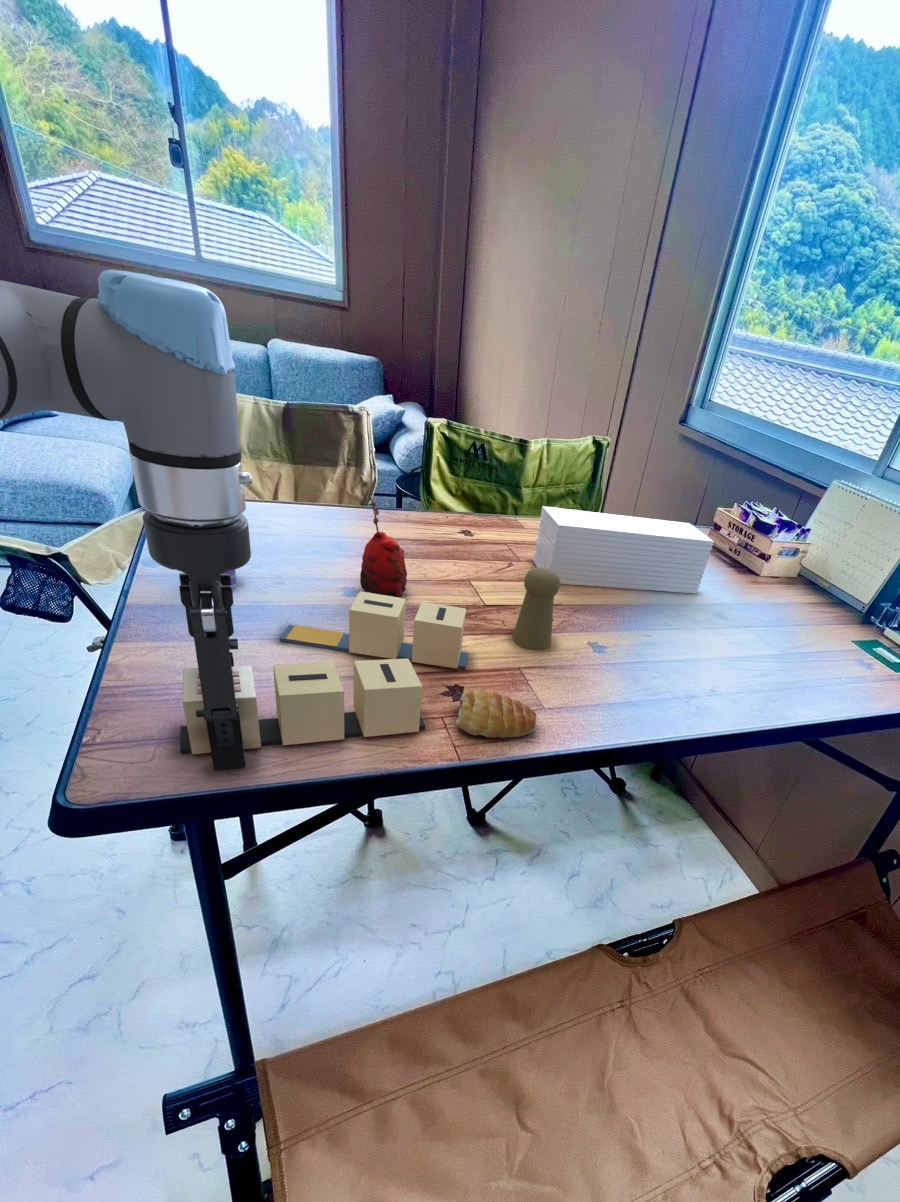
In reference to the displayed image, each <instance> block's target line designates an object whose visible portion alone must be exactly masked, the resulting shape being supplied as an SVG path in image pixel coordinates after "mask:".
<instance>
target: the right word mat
mask: <svg viewBox="0 0 900 1202" xmlns="http://www.w3.org/2000/svg"><path fill="white" fill-rule="evenodd" d="M406 607H407V598H405V597H393V596H386V595H380V594H374V593H370V592H368V591H361V590H360V591H359V592H358V594H357V595H356V597H355V599H354V601H353V602H352V604H351V606H350V607H349V609H348V633H346V632H341V631H334V630H328V629H322V628H315V627H310V626H302V625H297V624H296V625H292V624H288V626H287V627H286V629H285V630H284V631H283V632H282V634H281V635H280V637H279V642H282V643H287V644H288V643H289V644H294V645H302V646H310V647H315V648H320V649H321V648H322V649H329V650H336V651H341V652H348V653H352V654H358V655H365V656H371V657H377V658H385V659H409V661H410V662H411V663H417V664H418V663H419V664H425V665H431V666H437V667H438V666H439V667H443V668H444V667H445V668H450V669H460V670H466V667H467V662H468V657H469V652H467V651H462V648H463V642H464V641H463V640H464V631H465V623H466V615H467V614H466V613H467V608H465V607H459V606H452V605H447V604H439V603H435V602H427V601H420V603H419V607H418V609H417V611H416V615H415V617H414V621H413V633H412V634H413V635H412V643H409V642H404V641H405V640H404V639H405V625H406V609H407V608H406Z"/></svg>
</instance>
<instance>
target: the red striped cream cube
mask: <svg viewBox="0 0 900 1202" xmlns="http://www.w3.org/2000/svg"><path fill="white" fill-rule="evenodd" d="M253 672H254V671H253V667H252V665H234V666H232V674H233V682H234V691H235V699H236V704H237V705H238V708H239V716H240V724H241V732H242V741H243V749H244V750H250V749H260V748H262V745H261V741H260V731H259V721H258V720H259V713H258V702H257V694H256V687H255V680H254V679H255V678H254V673H253ZM182 705H183V710H184V718H185V722H186V726H187V728H188V734H189V739H190V745H191V750H192V752H191V754H192V755H200V754H209V753H211V749H210V743H209V737H208V731H207V724H206V721H205V718H204V717H198V718H197V717H196V710H204V709H203V707H204V705H203V698H202V691H201V684H200V677H199V670H198V667H190V668H189V667H188V668H183V669H182Z"/></svg>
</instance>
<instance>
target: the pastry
mask: <svg viewBox="0 0 900 1202" xmlns="http://www.w3.org/2000/svg"><path fill="white" fill-rule="evenodd" d="M459 706H460V709H459V710H458V718H457V719H456V721H455V722H456V723H455V725H456V726H457V727H458V728H459V729H461V730H463V731H464V732H465V733H466V734H468V735H471V736H475V737H476V736H484V737H485V738H493V739H494V738H502V739H504V738H508V739H510V738H518V737H523V736H526V735H529V734H532V732H534V731H535V730H536V724H537V712H536V711H534V710H533V709H532V707H530V706H529V705H526V704H525V703H522V702H521V701H520V700H517V699H512V698H511V697H510V696H509V695H502V694H500V693H499V692H497V691H496V690H492V691H490V692H488V691H486V690H484V689H483V688H477V689H476V690H474V691H471V690H469V689H464V690H463V692H462V694H461V696H460V699H459Z"/></svg>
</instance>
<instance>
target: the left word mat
mask: <svg viewBox="0 0 900 1202" xmlns="http://www.w3.org/2000/svg"><path fill="white" fill-rule="evenodd" d="M272 670H273V682H274V683H273V684H274V692H275V694H274V696H275V705H276V715H277V717H275V718H261V719H258V721H259V731H260V741H261V746H269V745H270V746H271V745H280V744H282V746H291V745H300V744H309V743H318V742H319V743H320V742H330V741H338V740H339V741H340V740H341V741H342V740H345V738H350V737H361V736H363V737H364V738H367V737H368V738H369V737H379V736H388V735H389V736H390V735H400V734H408V733H418V732H420V731H424V730H426V725H425V722H424V720H423V718H422V716H421V709H422V699H423V697H422V696H423V684H422V682H421V681H420V678H419V676H418V674H417V672H416V671H415V668H414V667H413V664H412V662H411V661H409V659H391V658H385V659H368V660H365V659H364V660H353V704H352V705H353V706H352V707H353V709H354V711H347V712H345V690H344V687H343V684H342V681H341V678H340V674H339V672H338V669H337V666H336V663H335V661H323V662H322V661H320V662H319V661H318V662H298V663H296V662H295V663H281V664H280V663H275V664H272ZM179 736H180V738H179V739H180V742H179V744H180V745H179V749H180V753H181V754H189V753H192V750H191V745H190V739H189V734H188V728H187V725H180V735H179Z"/></svg>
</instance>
